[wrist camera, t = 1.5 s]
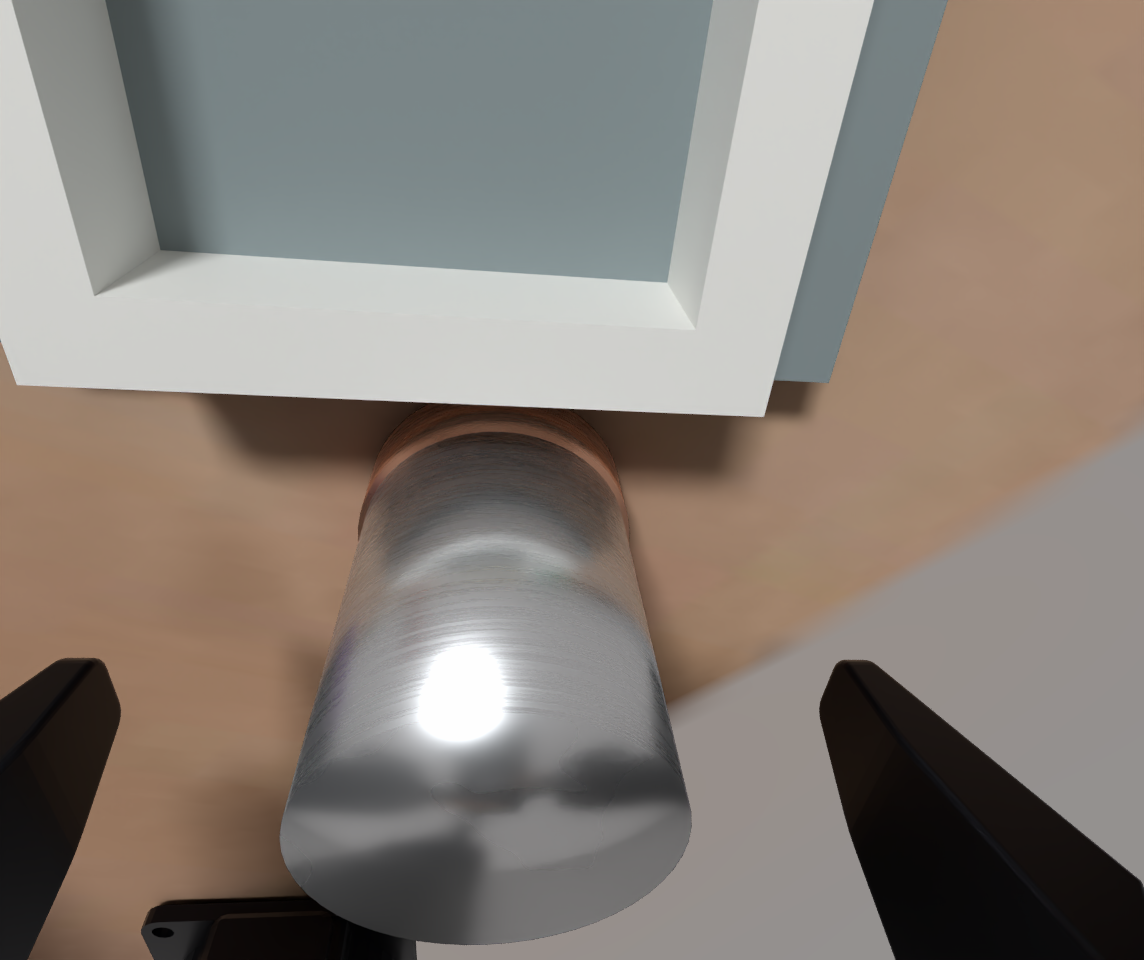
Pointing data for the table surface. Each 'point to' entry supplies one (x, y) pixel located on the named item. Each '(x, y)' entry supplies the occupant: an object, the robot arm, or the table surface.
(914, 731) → the robot arm
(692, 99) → the grey double slot tray
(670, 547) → the table surface
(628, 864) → the metal cylinder
